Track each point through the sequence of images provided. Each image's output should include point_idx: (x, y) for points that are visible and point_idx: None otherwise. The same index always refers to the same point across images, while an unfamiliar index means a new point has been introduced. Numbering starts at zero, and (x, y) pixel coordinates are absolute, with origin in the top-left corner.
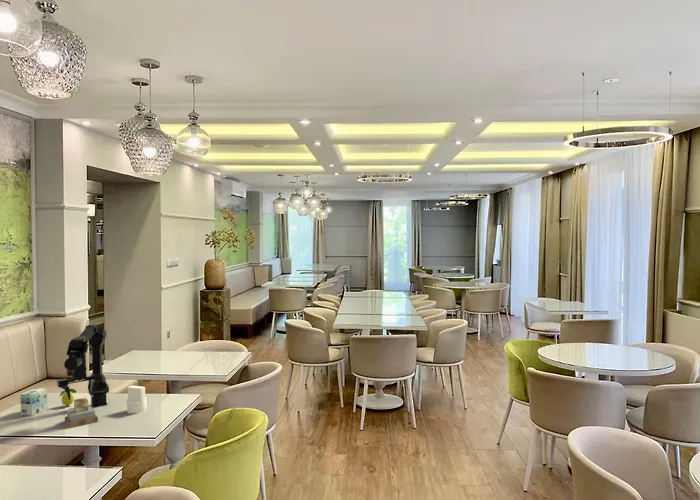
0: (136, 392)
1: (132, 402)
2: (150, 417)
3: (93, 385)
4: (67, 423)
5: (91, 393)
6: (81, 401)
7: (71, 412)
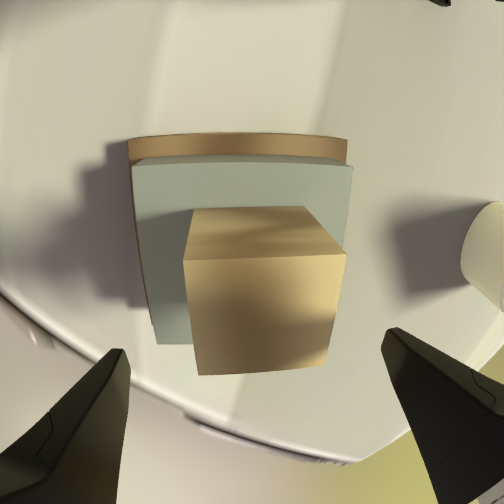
0: None
1: (497, 305)
2: (454, 352)
3: (438, 482)
4: None
5: (396, 383)
6: (256, 369)
7: (162, 268)
